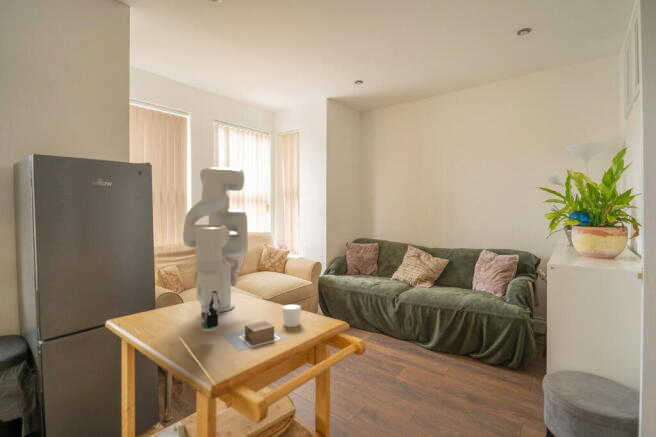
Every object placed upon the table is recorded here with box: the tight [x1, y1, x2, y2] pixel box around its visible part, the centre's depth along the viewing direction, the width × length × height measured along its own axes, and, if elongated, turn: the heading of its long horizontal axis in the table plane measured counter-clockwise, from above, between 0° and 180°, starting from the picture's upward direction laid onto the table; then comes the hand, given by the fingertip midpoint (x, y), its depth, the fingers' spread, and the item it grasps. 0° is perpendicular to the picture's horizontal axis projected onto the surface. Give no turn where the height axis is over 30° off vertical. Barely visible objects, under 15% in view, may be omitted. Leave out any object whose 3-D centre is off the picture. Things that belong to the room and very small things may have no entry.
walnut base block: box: [244, 320, 275, 344], centre depth 103 cm, size 7×7×4 cm
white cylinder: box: [281, 303, 302, 328], centre depth 116 cm, size 7×7×7 cm
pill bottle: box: [200, 302, 218, 332], centre depth 100 cm, size 5×5×8 cm
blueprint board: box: [221, 329, 287, 352], centre depth 104 cm, size 15×16×1 cm
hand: (209, 323), depth 100 cm, fingers closed on pill bottle, 4 cm apart
